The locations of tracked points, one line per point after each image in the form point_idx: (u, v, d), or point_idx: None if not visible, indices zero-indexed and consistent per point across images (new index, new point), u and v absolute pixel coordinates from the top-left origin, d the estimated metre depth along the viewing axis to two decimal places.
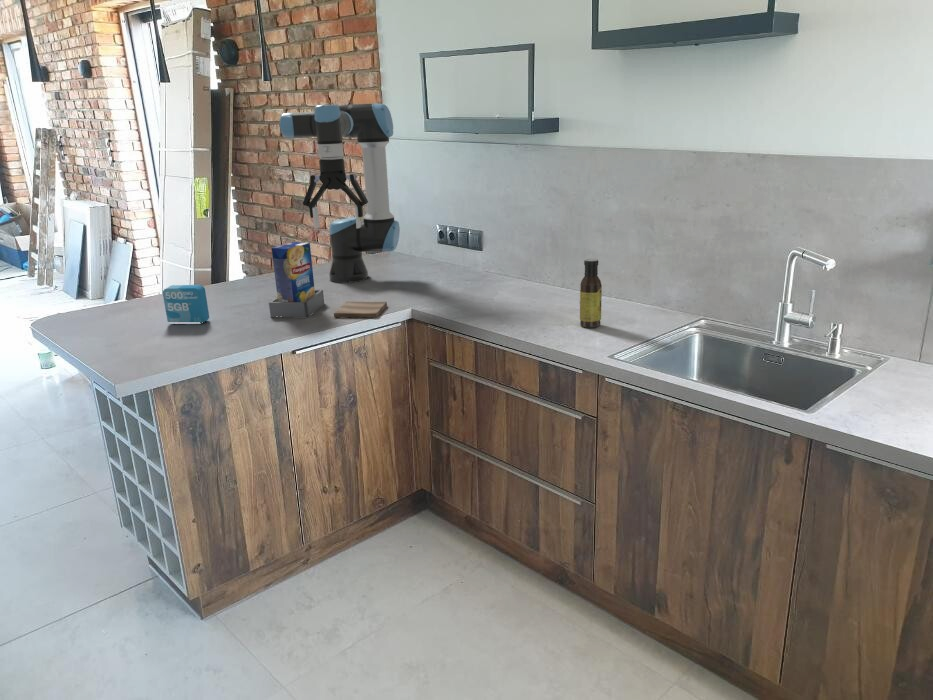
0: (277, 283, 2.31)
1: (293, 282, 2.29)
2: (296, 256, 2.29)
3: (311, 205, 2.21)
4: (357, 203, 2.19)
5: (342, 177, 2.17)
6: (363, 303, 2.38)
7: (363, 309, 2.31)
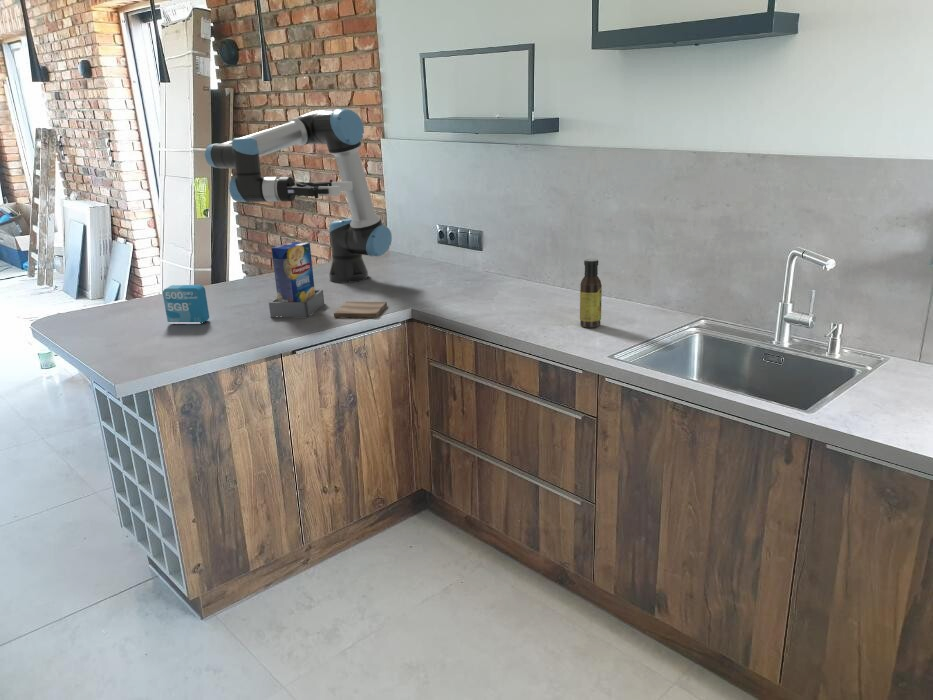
0: (277, 283, 2.31)
1: (293, 282, 2.29)
2: (296, 256, 2.29)
3: None
4: None
5: None
6: (363, 303, 2.38)
7: (363, 309, 2.31)
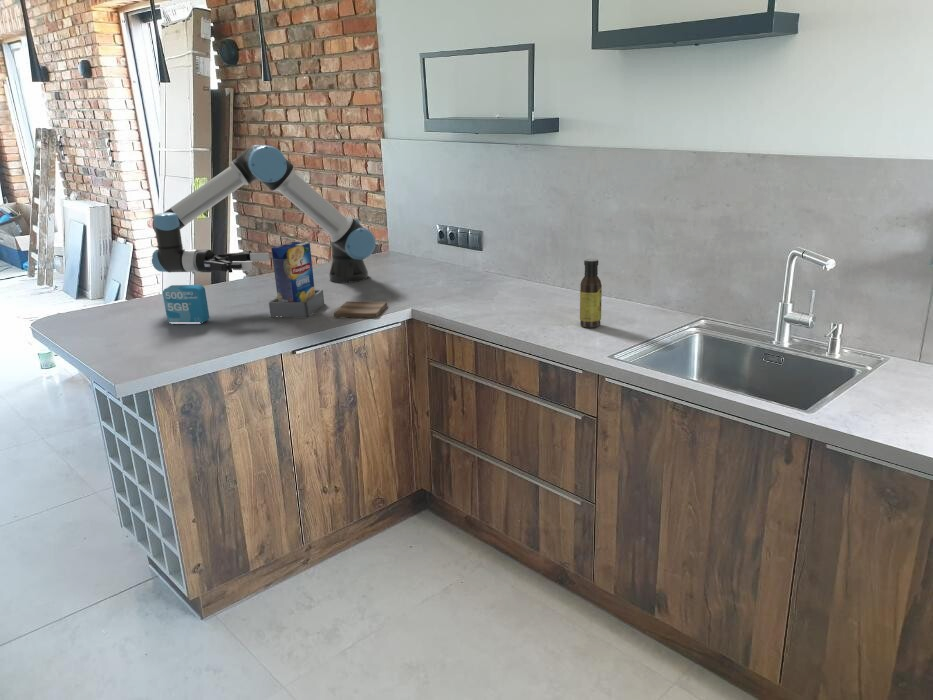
0: (277, 283, 2.31)
1: (293, 282, 2.29)
2: (296, 256, 2.29)
3: None
4: None
5: None
6: (363, 303, 2.38)
7: (363, 309, 2.31)
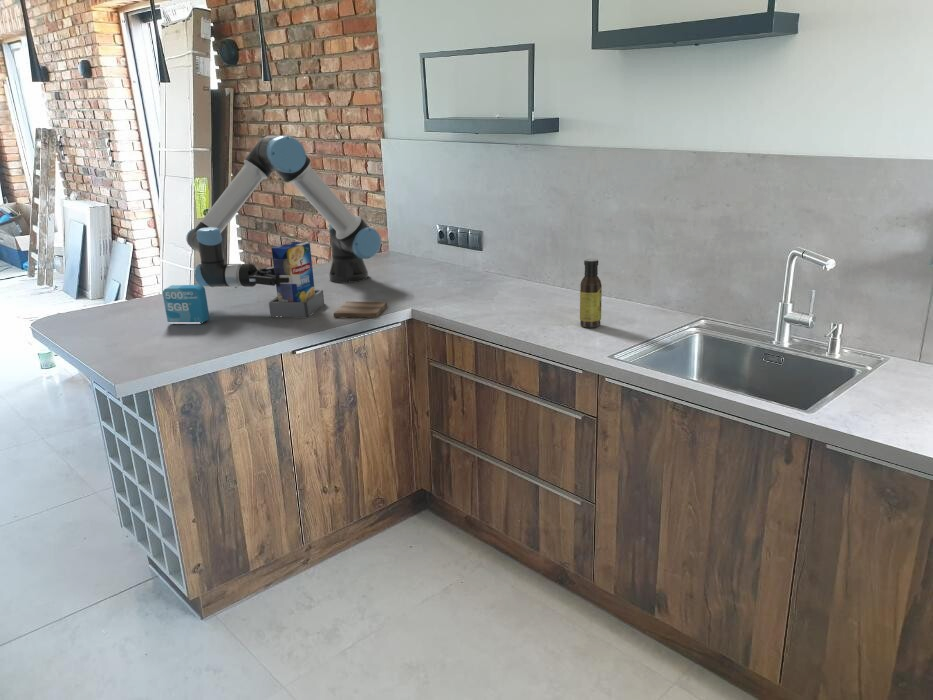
0: None
1: None
2: (296, 255, 2.29)
3: None
4: None
5: None
6: (363, 303, 2.38)
7: (363, 309, 2.31)
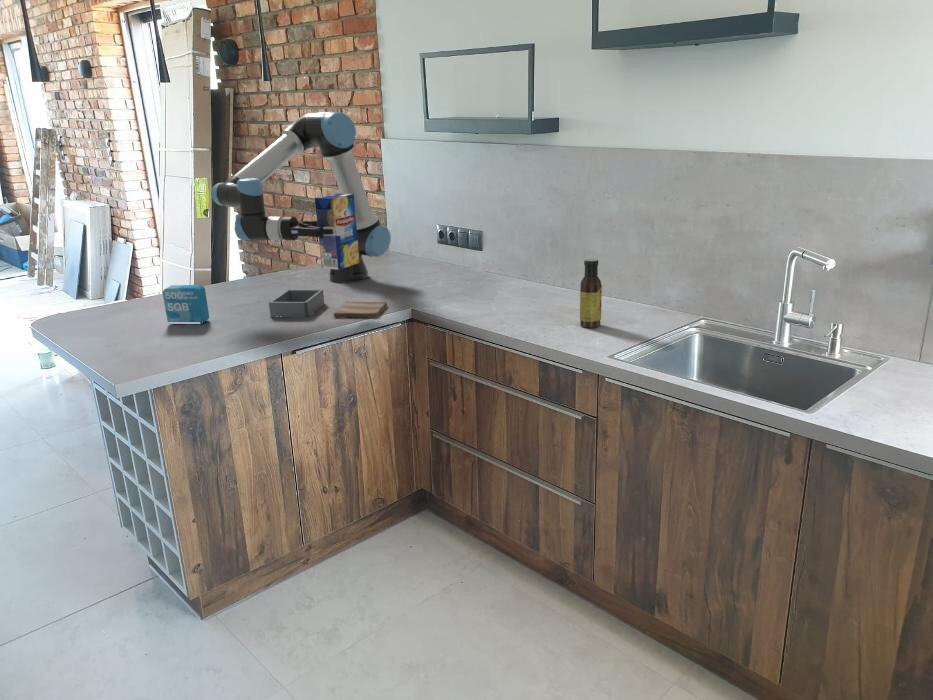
0: None
1: None
2: (340, 206, 2.19)
3: None
4: None
5: None
6: (363, 303, 2.38)
7: (363, 309, 2.31)
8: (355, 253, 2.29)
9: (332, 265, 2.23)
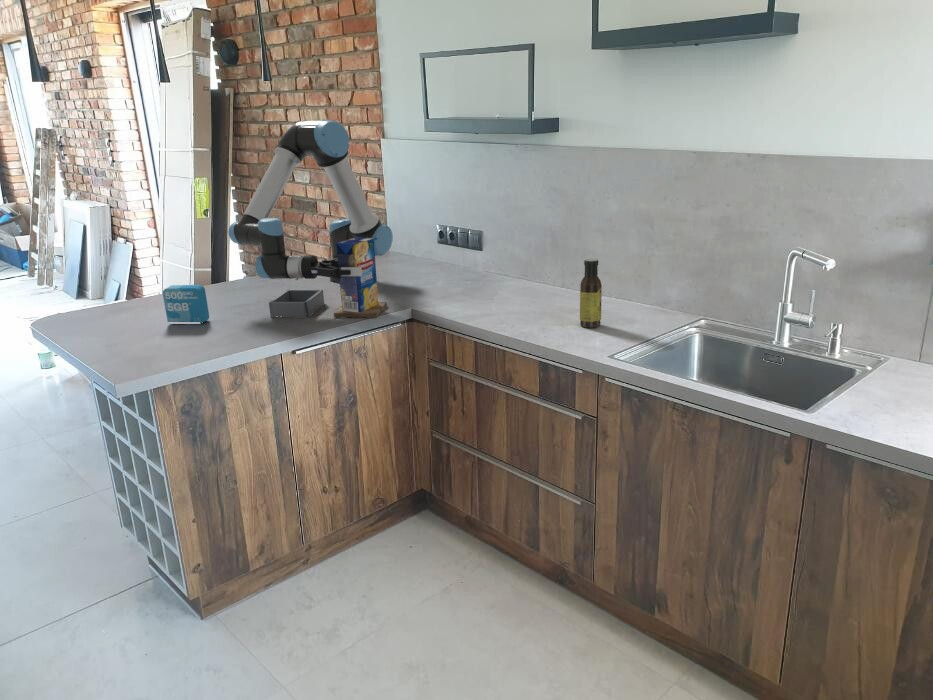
0: (341, 279, 2.27)
1: (358, 278, 2.25)
2: (361, 251, 2.24)
3: None
4: None
5: None
6: None
7: None
8: (374, 295, 2.34)
9: (353, 308, 2.28)
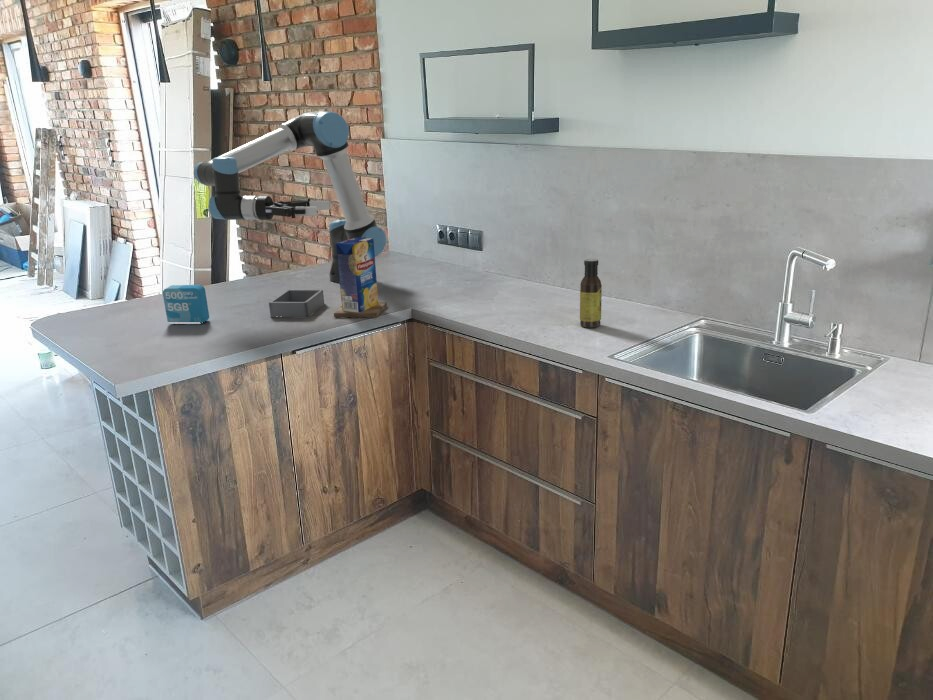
0: (341, 279, 2.27)
1: (358, 278, 2.25)
2: (361, 251, 2.24)
3: None
4: None
5: None
6: None
7: None
8: (374, 295, 2.34)
9: (353, 308, 2.28)
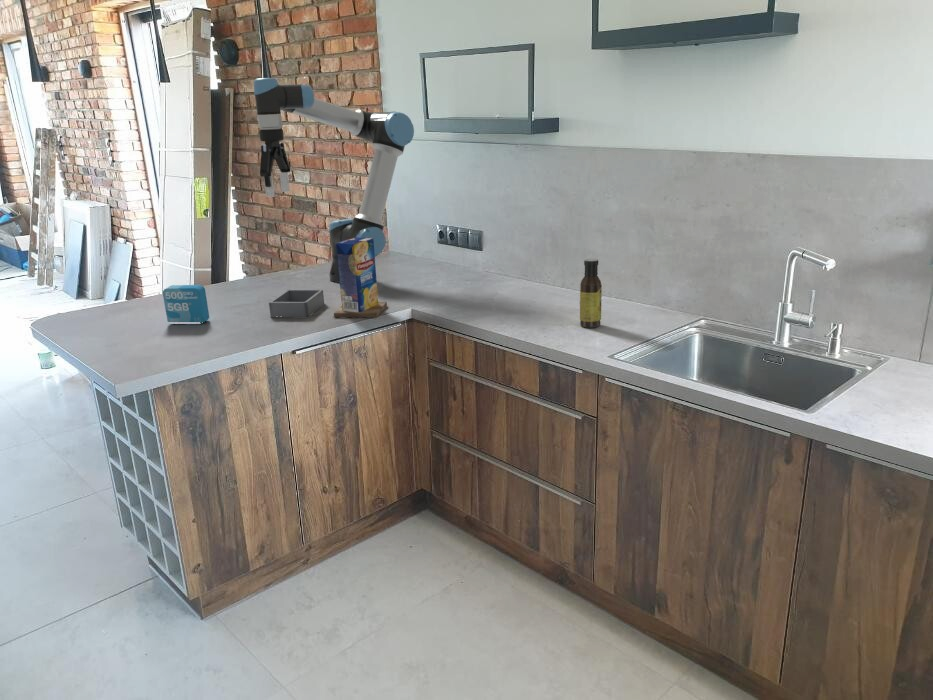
0: (341, 279, 2.27)
1: (358, 278, 2.25)
2: (361, 251, 2.24)
3: None
4: None
5: None
6: None
7: None
8: (374, 295, 2.34)
9: (353, 308, 2.28)
